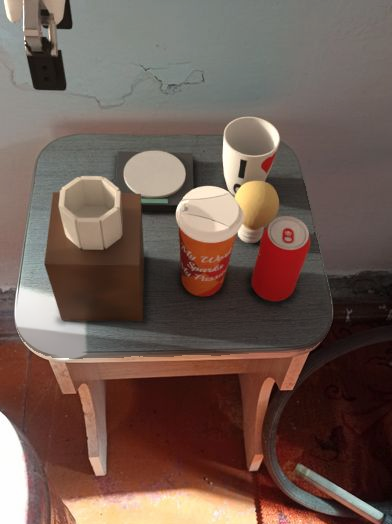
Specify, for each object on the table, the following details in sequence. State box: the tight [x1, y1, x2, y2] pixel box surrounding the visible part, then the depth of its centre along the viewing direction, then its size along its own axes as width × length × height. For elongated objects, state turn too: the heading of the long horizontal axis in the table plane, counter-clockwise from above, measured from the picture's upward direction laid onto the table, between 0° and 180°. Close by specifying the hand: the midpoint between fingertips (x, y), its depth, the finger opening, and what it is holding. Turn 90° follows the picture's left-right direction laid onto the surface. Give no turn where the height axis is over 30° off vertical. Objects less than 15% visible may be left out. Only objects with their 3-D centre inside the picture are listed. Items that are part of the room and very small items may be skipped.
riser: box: [43, 191, 145, 322], centre depth 74 cm, size 11×11×13 cm
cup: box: [222, 116, 281, 197], centre depth 85 cm, size 8×8×10 cm
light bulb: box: [234, 181, 280, 244], centre depth 81 cm, size 6×6×10 cm
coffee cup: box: [175, 185, 244, 297], centre depth 74 cm, size 8×8×15 cm
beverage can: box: [251, 215, 311, 302], centre depth 76 cm, size 6×6×12 cm
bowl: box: [59, 175, 123, 250], centre depth 66 cm, size 7×7×5 cm
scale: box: [115, 150, 195, 213], centre depth 88 cm, size 12×11×2 cm
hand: (54, 56), depth 58 cm, fingers open, 9 cm apart
